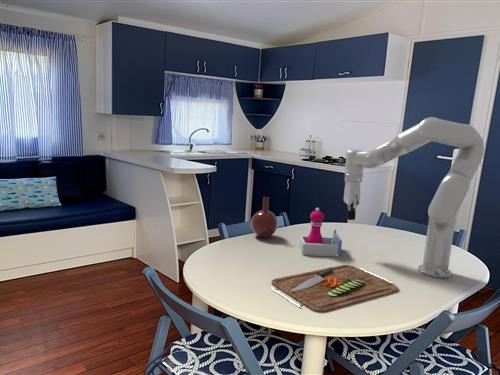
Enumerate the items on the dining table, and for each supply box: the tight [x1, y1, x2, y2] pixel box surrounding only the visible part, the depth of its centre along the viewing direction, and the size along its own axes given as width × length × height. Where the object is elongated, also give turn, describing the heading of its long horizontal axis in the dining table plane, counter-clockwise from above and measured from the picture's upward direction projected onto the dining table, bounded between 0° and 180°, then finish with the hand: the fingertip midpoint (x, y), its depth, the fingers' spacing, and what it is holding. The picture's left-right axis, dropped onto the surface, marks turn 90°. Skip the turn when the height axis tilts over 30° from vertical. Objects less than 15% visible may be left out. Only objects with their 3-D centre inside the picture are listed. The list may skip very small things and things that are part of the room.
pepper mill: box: [307, 207, 325, 244], centre depth 187 cm, size 7×7×20 cm
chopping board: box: [270, 264, 399, 313], centre depth 150 cm, size 45×27×3 cm, turn 122°
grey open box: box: [298, 235, 338, 257], centre depth 188 cm, size 12×15×5 cm
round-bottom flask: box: [250, 195, 279, 238], centre depth 204 cm, size 13×13×20 cm
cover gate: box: [332, 229, 343, 257], centre depth 188 cm, size 13×1×8 cm, turn 0°
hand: (351, 219), depth 184 cm, fingers closed
